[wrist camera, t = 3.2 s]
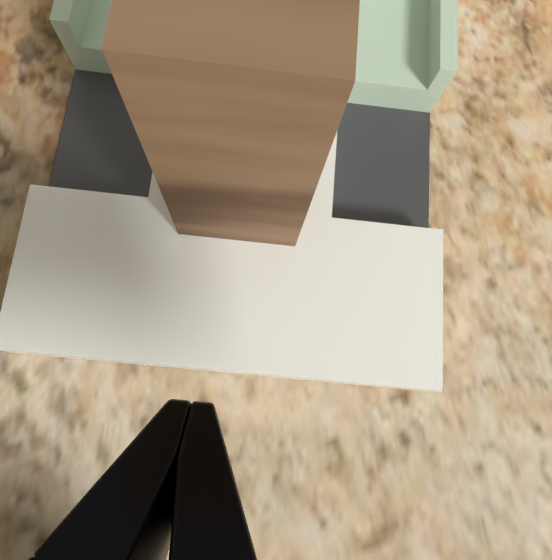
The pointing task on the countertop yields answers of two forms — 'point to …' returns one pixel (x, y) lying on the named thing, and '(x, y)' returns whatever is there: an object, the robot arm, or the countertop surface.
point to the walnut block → (235, 105)
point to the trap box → (243, 254)
